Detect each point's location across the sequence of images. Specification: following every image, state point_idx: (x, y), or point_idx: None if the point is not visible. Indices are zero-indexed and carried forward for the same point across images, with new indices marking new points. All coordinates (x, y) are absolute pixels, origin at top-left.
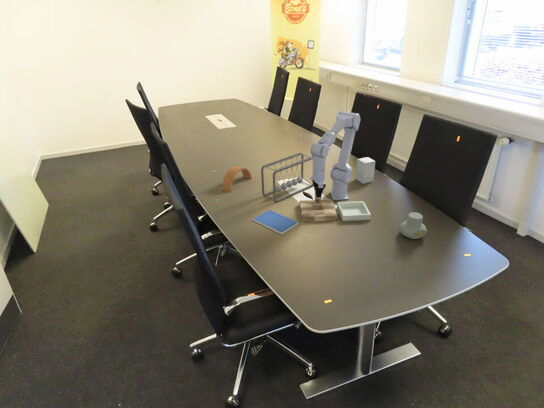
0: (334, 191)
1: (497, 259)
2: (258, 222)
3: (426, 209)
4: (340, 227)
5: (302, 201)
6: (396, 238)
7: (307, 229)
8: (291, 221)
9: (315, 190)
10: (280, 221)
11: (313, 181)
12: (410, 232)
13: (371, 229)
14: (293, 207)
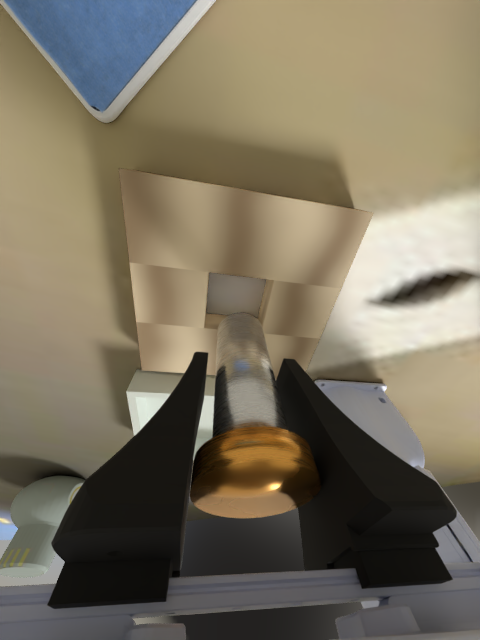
0: (345, 412)
1: (3, 537)
2: None
3: (191, 514)
4: (83, 351)
5: (349, 233)
6: (39, 459)
7: (26, 174)
8: (108, 39)
9: (164, 414)
10: None
11: (352, 487)
12: (11, 508)
13: (83, 427)
14: (343, 150)
